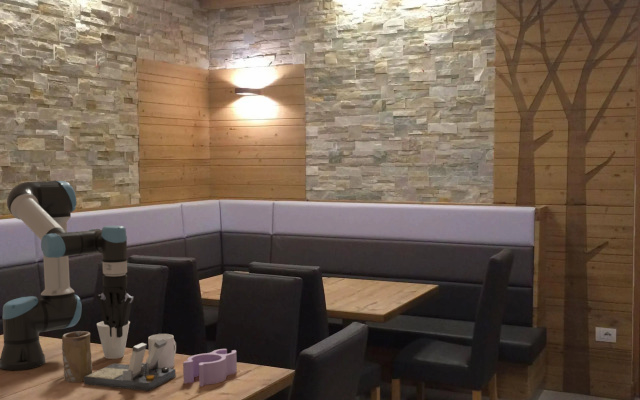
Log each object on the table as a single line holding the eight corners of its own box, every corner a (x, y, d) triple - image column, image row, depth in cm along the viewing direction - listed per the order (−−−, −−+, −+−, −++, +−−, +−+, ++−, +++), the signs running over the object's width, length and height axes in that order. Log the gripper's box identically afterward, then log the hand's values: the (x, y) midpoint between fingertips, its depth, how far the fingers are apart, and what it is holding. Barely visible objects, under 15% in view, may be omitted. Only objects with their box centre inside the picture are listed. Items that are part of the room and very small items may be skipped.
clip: (216, 367, 255) (216, 347, 254) (245, 371, 248) (245, 351, 248) (177, 382, 238) (176, 361, 237) (207, 388, 231) (206, 366, 231)
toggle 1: (126, 377, 233) (132, 346, 231) (134, 373, 238) (141, 342, 236) (131, 379, 232) (138, 348, 231) (140, 375, 237) (147, 344, 235)
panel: (84, 384, 237) (83, 367, 236) (114, 370, 252) (114, 354, 252) (148, 390, 229) (148, 373, 228) (176, 375, 244) (176, 359, 244)
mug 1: (77, 384, 237) (75, 338, 236) (49, 379, 243) (47, 334, 242) (97, 376, 245) (96, 332, 244) (70, 371, 251) (68, 328, 250)
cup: (91, 357, 270) (90, 323, 269) (118, 350, 279) (117, 318, 278) (109, 362, 262) (108, 328, 261) (137, 355, 271) (136, 322, 270)
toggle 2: (141, 368, 241) (154, 342, 239) (149, 364, 246) (163, 338, 244) (146, 372, 241) (159, 345, 239) (154, 368, 246) (167, 342, 243)
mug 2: (185, 363, 259) (185, 333, 259) (163, 372, 249) (162, 340, 248) (167, 360, 264) (166, 330, 263) (143, 368, 253) (142, 338, 253)
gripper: (90, 275, 234) (92, 348, 235) (125, 277, 229) (127, 351, 231) (104, 271, 241) (106, 342, 242) (139, 273, 236) (140, 345, 238)
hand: (116, 346), depth 237 cm, fingers closed
